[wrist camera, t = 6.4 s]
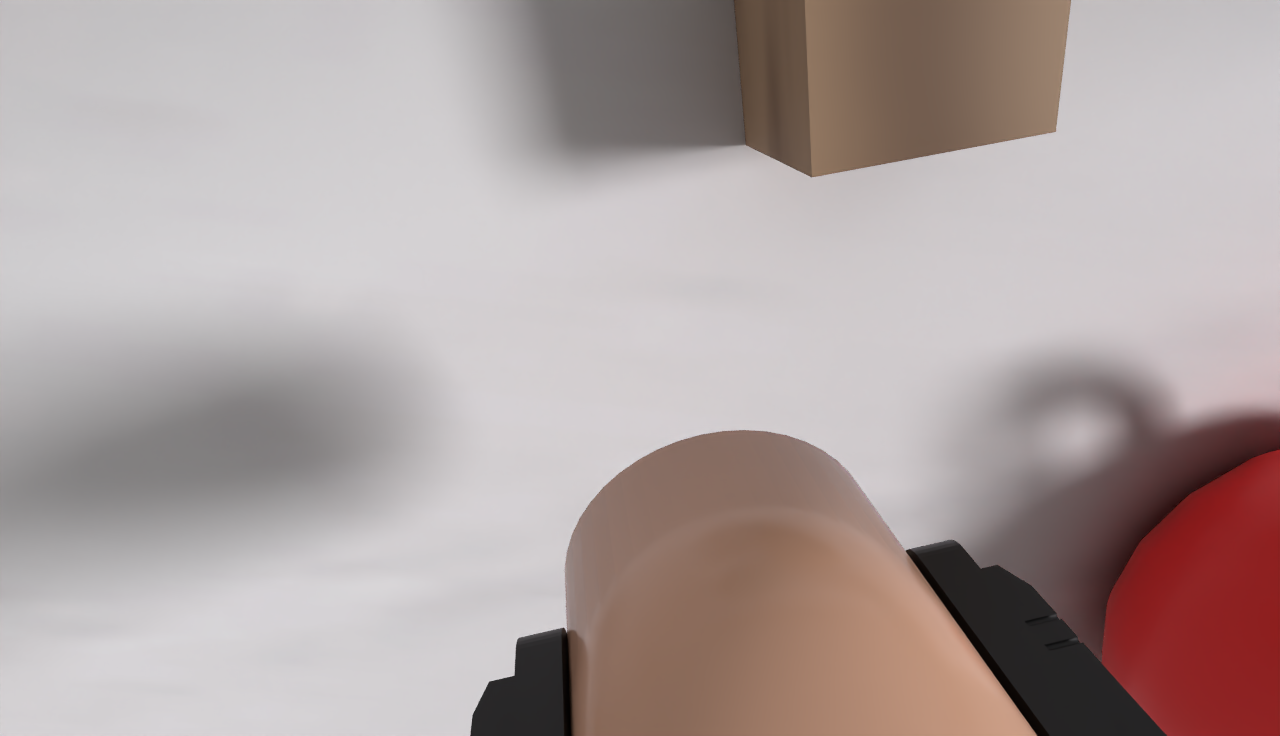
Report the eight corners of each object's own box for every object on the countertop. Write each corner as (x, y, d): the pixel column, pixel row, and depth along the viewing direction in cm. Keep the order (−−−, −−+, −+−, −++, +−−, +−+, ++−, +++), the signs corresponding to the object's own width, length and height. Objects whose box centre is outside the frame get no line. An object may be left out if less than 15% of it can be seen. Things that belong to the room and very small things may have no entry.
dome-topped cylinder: (867, 397, 11) (1253, 816, 5) (874, 637, 13) (1135, 1106, 7) (529, 473, 11) (508, 1006, 5) (600, 702, 13) (644, 1237, 7)
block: (936, -116, 16) (1092, -183, 11) (928, 110, 18) (1055, 131, 13) (726, -80, 15) (799, -133, 11) (744, 144, 18) (812, 177, 13)
